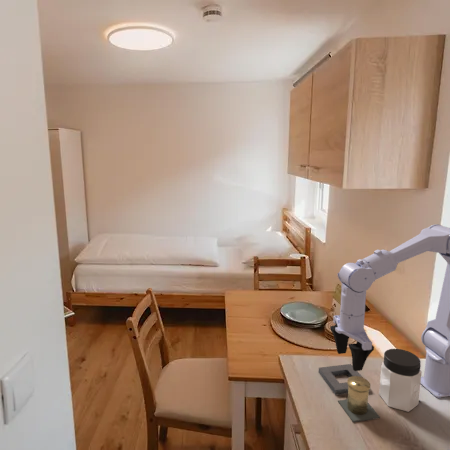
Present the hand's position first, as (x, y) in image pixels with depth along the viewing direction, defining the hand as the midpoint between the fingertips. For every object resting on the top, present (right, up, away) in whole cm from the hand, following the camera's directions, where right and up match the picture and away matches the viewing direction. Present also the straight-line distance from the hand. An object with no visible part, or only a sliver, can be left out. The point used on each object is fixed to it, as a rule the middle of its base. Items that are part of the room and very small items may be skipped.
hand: (349, 361), depth 87 cm
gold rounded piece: (+1, -10, -3) cm, 11 cm away
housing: (+1, -9, +8) cm, 12 cm away
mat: (+1, -11, -3) cm, 11 cm away
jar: (+13, -10, 0) cm, 16 cm away
